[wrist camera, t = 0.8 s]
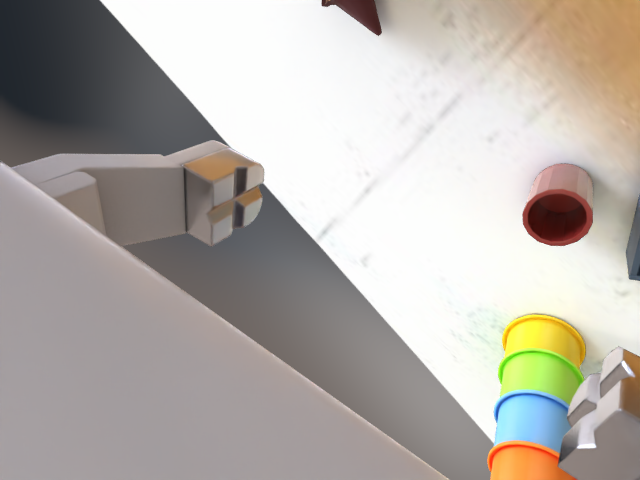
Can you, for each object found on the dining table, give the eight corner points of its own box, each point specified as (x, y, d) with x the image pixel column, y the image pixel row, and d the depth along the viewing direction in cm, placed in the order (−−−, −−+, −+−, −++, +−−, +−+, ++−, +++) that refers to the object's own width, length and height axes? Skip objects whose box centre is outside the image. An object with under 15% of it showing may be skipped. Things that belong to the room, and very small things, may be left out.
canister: (544, 156, 49) (535, 181, 43) (603, 172, 47) (604, 200, 40) (524, 204, 53) (514, 233, 46) (578, 220, 50) (576, 254, 44)
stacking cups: (574, 308, 55) (555, 586, 29) (594, 372, 58) (595, 684, 31) (493, 316, 61) (418, 550, 35) (515, 373, 64) (459, 633, 37)
